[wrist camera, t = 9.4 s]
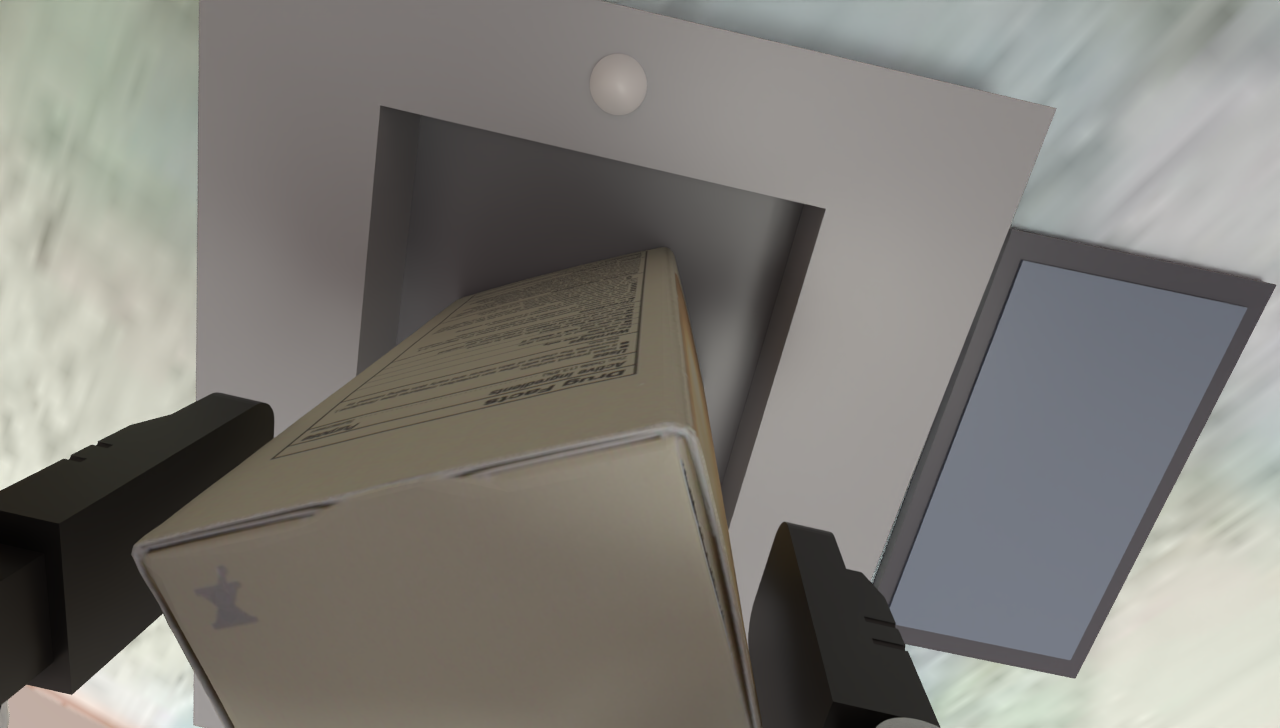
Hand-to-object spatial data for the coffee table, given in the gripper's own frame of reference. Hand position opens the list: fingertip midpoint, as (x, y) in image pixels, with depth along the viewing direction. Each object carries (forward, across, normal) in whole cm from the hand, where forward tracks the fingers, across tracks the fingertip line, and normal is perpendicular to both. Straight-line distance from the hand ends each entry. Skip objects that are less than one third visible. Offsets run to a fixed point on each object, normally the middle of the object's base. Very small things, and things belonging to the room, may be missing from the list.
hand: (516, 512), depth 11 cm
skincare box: (+9, 0, 0) cm, 9 cm away
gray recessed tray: (+9, 0, +3) cm, 10 cm away
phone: (+10, -14, +1) cm, 17 cm away
